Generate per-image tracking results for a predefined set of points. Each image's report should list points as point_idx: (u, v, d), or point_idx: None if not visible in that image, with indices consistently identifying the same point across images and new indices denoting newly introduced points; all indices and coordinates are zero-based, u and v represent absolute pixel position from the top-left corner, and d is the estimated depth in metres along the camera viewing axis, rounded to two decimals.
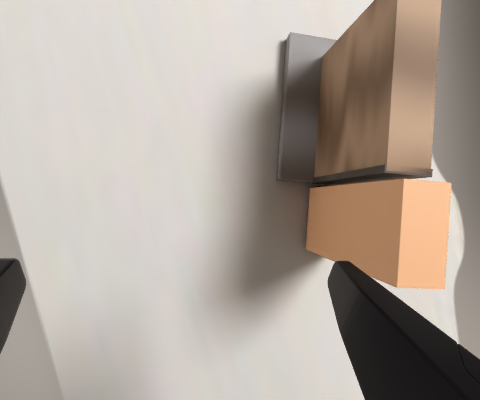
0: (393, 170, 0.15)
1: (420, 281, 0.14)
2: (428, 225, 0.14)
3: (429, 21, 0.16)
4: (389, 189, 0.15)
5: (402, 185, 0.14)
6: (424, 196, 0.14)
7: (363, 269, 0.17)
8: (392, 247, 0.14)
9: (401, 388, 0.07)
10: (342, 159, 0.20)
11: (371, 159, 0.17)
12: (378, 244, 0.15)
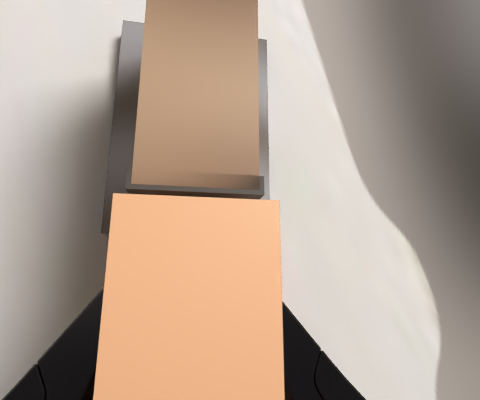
0: (153, 183, 0.06)
1: None
2: (208, 344, 0.04)
3: None
4: None
5: (112, 215, 0.04)
6: (188, 247, 0.04)
7: None
8: None
9: None
10: None
11: None
12: None
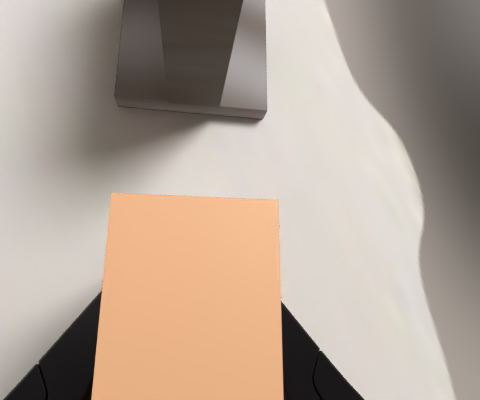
0: None
1: None
2: (206, 344, 0.04)
3: None
4: None
5: (110, 214, 0.04)
6: (187, 246, 0.04)
7: None
8: None
9: None
10: None
11: None
12: None
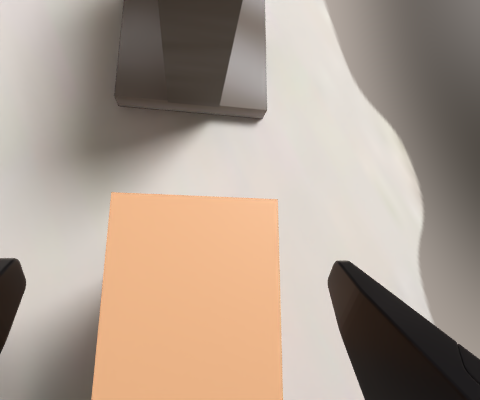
0: None
1: None
2: (205, 342, 0.04)
3: None
4: None
5: (110, 214, 0.04)
6: (187, 246, 0.04)
7: None
8: None
9: (401, 388, 0.07)
10: None
11: None
12: None
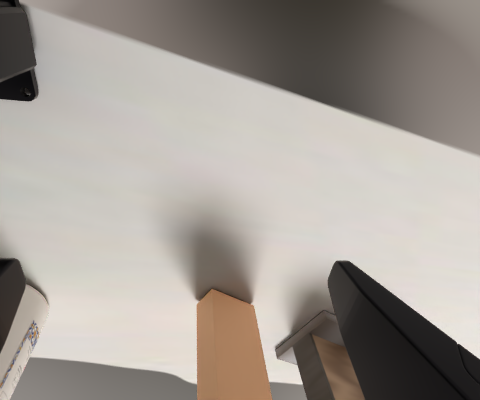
0: None
1: None
2: None
3: None
4: None
5: None
6: None
7: (220, 383, 0.21)
8: None
9: (401, 388, 0.07)
10: (331, 377, 0.29)
11: None
12: None
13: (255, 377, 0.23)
